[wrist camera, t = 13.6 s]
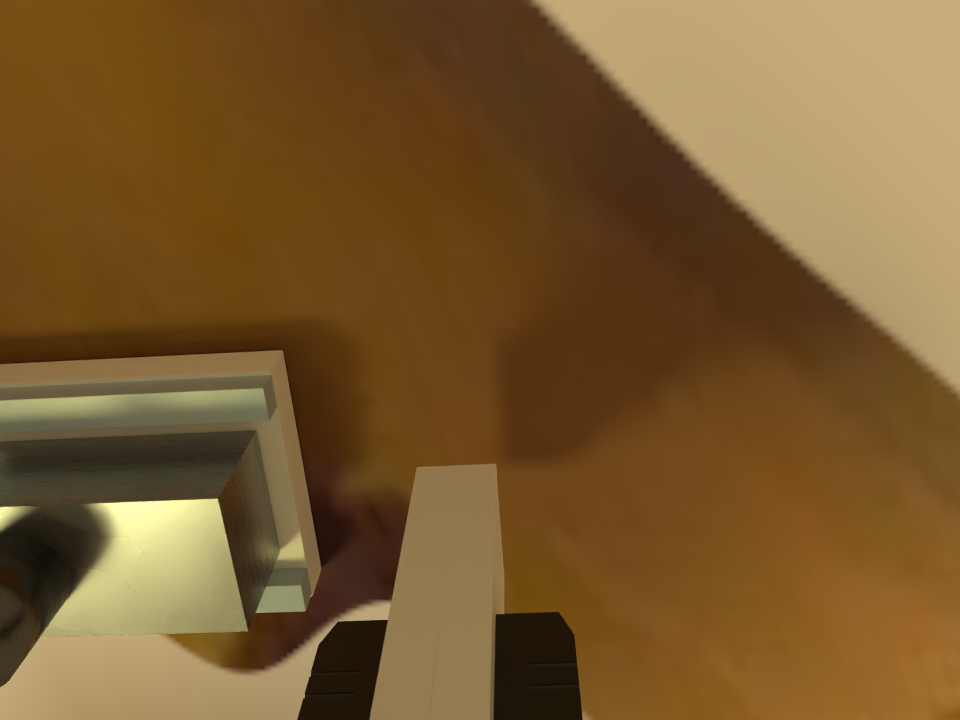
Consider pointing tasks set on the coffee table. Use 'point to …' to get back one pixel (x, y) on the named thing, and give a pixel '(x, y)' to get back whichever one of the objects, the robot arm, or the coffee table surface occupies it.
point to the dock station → (181, 428)
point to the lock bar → (131, 537)
